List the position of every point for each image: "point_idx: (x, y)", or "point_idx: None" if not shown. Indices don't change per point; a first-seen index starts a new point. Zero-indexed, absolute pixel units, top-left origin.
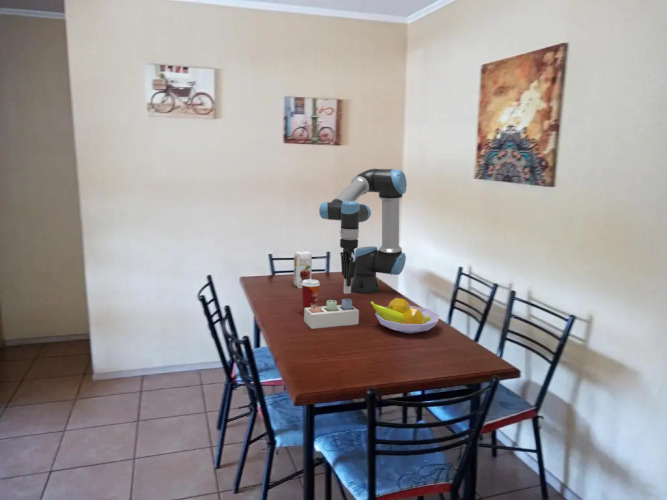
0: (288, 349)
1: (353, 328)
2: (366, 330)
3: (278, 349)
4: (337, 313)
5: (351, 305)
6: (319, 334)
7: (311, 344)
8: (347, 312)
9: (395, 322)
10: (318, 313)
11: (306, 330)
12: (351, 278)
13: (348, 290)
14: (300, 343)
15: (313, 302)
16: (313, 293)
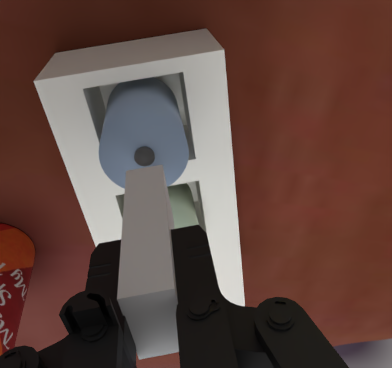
0: (389, 316)
1: (269, 78)
2: (324, 7)
3: (376, 335)
4: (235, 195)
5: (169, 107)
6: (300, 235)
7: (383, 264)
8: (230, 136)
9: None
10: (230, 282)
11: (242, 271)
12: (211, 295)
13: (168, 203)
14: (359, 291)
15: (16, 293)
16: (4, 347)
